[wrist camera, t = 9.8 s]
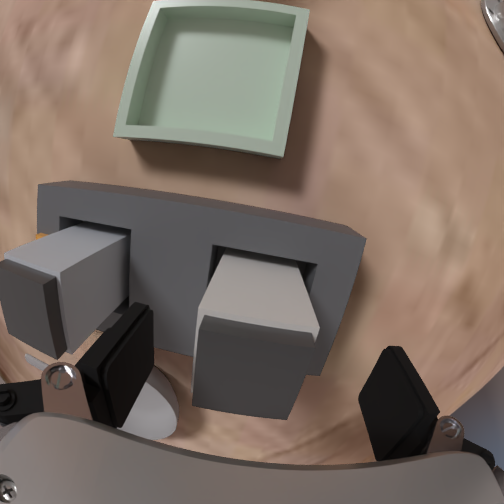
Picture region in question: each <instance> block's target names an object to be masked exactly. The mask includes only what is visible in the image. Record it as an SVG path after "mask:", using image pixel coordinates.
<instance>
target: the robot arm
mask: <svg viewBox="0 0 504 504" xmlns="http://www.w3.org/2000/svg"><path fill="white" fill-rule="evenodd" d="M481 7H482V11H483V14H484V17H485V20H486V22H487V24H488V26H489V28H490V30H491V32H492V34H493V35H494V37H495V39H496V41H497V42H498V44H499V46H500V47H501V49H502V50H503V52H504V1H503V0H481ZM153 366H154V312H153V310H151V309H150V307H149V305H146V304H142V303H139V302H134V303H133V304H132V305H131V306H130V307H129V308H128V310H127V311H126V312H125V313H124V314H123V315H122V316H121V317H120V318H119V319H118V321H117V322H116V323H115V324H114V325H113V326H112V327H110V328H108V329H106V330H105V332H104V333H103V334H102V335H101V336H100V337H99V338H98V339H97V340H96V342H95V343H94V344H93V345H92V346H91V347H90V348H89V350H88V351H87V352H86V353H85V354H84V355H83V357H82V358H81V359H80V360H79V361H78V362H77V364H76V365H75V366H74V365H72V364H70V363H66V362H57V363H53V364H51V365H49V366H47V367H46V368H45V369H44V370H43V372H42V375H41V379H40V380H33V381H25V382H17V383H8V384H0V504H504V471H503V470H502V469H501V468H500V467H499V466H496V467H494V466H495V460H494V457H493V454H492V453H491V452H490V451H488V450H486V449H484V448H482V447H480V446H478V445H476V444H474V443H472V442H470V441H468V440H466V439H464V428H463V426H462V424H461V423H460V422H459V421H458V420H457V419H455V418H454V417H451V416H442V417H440V418H439V419H438V418H437V415H438V414H439V413H440V411H439V409H438V407H437V405H436V403H435V402H434V400H433V398H432V396H431V395H430V393H429V391H428V389H427V388H426V386H425V384H424V383H423V381H422V379H421V377H420V376H419V374H418V372H417V371H416V369H415V367H414V366H413V364H412V363H411V361H410V359H409V358H408V356H407V355H406V353H405V351H404V350H403V348H402V347H400V346H388V347H387V348H386V349H384V350H383V351H382V353H381V355H380V357H379V359H378V361H377V363H376V365H375V367H374V368H373V370H372V372H371V374H370V376H369V378H368V380H367V381H366V383H365V385H364V387H363V388H362V390H361V392H360V394H359V398H358V401H359V404H360V408H361V411H362V414H363V417H364V421H365V424H366V427H367V431H368V434H369V438H370V441H371V445H372V448H373V452H374V455H375V459H376V460H377V462H368V463H356V464H339V465H294V464H276V463H264V462H255V461H247V460H239V459H232V458H226V457H220V456H215V455H209V454H204V453H200V452H195V451H191V450H186V449H182V448H178V447H175V446H171V445H167V444H164V443H160V442H156V441H153V440H150V439H146V438H143V437H140V436H137V435H134V434H131V433H128V432H125V431H123V430H119V429H117V427H118V428H122V427H123V425H124V423H125V421H126V419H127V417H128V415H129V413H130V411H131V409H132V407H133V405H134V403H135V401H136V400H137V398H138V396H139V394H140V392H141V390H142V388H143V386H144V384H145V382H146V380H147V379H148V377H149V375H150V373H151V371H152V369H153Z"/></svg>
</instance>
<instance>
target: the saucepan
mask: <svg viewBox="0 0 504 504" xmlns="http://www.w3.org/2000/svg"><path fill="white" fill-rule="evenodd" d="M25 358H26V361H27V362H28V363H29V364H31V365H33V366H35V367H36V368H38V369H40V370H42V371H43V370H44V369H45V368H46V367H47V366H49V365H48V364H46V363H44V362H42V361H40V360H39V359H37V358H35V357H33V356H31V355H30V354H25ZM178 418H179V405H178V401H177V397H176V394H175V392H174V390H173V388H172V386H171V384H170V382H169V381H168V379H167V378H166V377H165V376H164V374H163V373H162V372H161V371H160V370H158V369H157V368H156V367H155V366H153V369H152V371H151V373H150V375H149V377H148V379H147V380H146V382H145V384H144V386H143V388H142V390H141V392H140V394H139V396H138V398H137V400H136V401H135V403H134V405H133V407H132V409H131V411H130V413H129V415H128V417H127V419H126V421H125V423H124V425H123V427H122V428H118V427H117V429H119V430H123V431H125V432H128V433H131V434H134V435H137V436H140V437H143V438H146V439H150V440H158V439H163V438H166V437H168V436H170V435H171V434H173V432H174V431H175V430H176V426H177V421H178Z"/></svg>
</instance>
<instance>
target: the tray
mask: <svg viewBox="0 0 504 504" xmlns="http://www.w3.org/2000/svg"><path fill="white" fill-rule="evenodd" d="M309 11H310V10H309V9H304V8H299V7H294V6H289V5H283V4H276V3H269V2H261V1H252V0H161V1H153V3H152V6H151V8H150V10H149V13H148V15H147V18H146V20H145V23H144V25H143V28H142V31H141V34H140V36H139V39H138V42H137V45H136V48H135V51H134V54H133V57H132V60H131V64H130V67H129V70H128V74H127V77H126V81H125V85H124V89H123V93H122V97H121V101H120V105H119V110H118V114H117V119H116V124H115V129H114V135H113V137H118V138H123V139H128V140H140V141H154V142H166V143H176V144H186V145H195V146H203V147H210V148H218V149H225V150H231V151H238V152H244V153H250V154H255V155H261V156H266V157H272V158H277V159H281V158H283V157H284V151H285V146H286V141H287V135H288V130H289V125H290V119H291V114H292V108H293V103H294V97H295V92H296V86H297V81H298V75H299V70H300V64H301V58H302V53H303V47H304V41H305V35H306V29H307V23H308V17H309Z"/></svg>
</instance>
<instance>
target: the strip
mask: <svg viewBox="0 0 504 504" xmlns="http://www.w3.org/2000/svg"><path fill="white" fill-rule="evenodd" d="M86 221H89V222H94V223H100V224H105V225H111V226H116V227H121V228H127V229H131V245H130V272H129V296H128V297H127V298H126V299H125V300H124V301H123V302H122V303H121V304H120V305H119V306H118V307H117V308H116V309H115V310H114V311H113V312H112V313H111V314H110V315H109V316H108V317H107V318H106V319H105V320H104V321H103V322H102V323H101V324H100V325H99V326H98V327H97V328H96V329H97V330H100V331H103V332H105V330H106V329H108V328H110V327H112V326H113V325H114V324H115V323H116V322H117V321H118V319H119V318H120V317H121V316H122V315H123V314H124V313H125V312H126V311H127V310H128V308H129V307H130V306H131V305H132V304H133V303H134V302H139V303H142V304H146V305H149V307H150V309H151V310H153V312H154V347H155V348H159V349H163V350H167V351H171V352H175V353H179V354H183V355H188V356H192V357H193V356H194V345H195V334H196V324H197V315H198V307H199V305H200V303H201V301H202V298H203V296H204V294H205V292H206V290H207V288H208V286H209V283H210V281H211V279H212V277H213V275H214V273H215V271H216V269H217V266H218V264H219V262H220V260H221V258H222V256H223V254H224V252H225V250H226V248H227V247H229V248H235V249H240V250H246V251H251V252H256V253H262V254H267V255H273V256H278V257H283V258H289V259H294V260H296V263H297V266H298V268H299V271H300V274H301V277H302V279H303V282H304V285H305V287H306V290H307V293H308V296H309V298H310V301H311V304H312V307H313V310H314V313H315V315H316V318H317V321H318V324H319V327H320V329H319V332H318V335H317V338H316V341H315V346H316V350H315V352H314V355H313V358H312V360H311V363H310V366H309V368H308V371H307V373H306V375H315V376H320V374H321V371H322V369H323V367H324V364H325V362H326V359H327V357H328V354H329V352H330V349H331V347H332V344H333V342H334V339H335V336H336V334H337V331H338V328H339V326H340V323H341V320H342V317H343V314H344V311H345V309H346V306H347V303H348V300H349V297H350V294H351V290H352V287H353V284H354V281H355V278H356V274H357V271H358V268H359V264H360V261H361V257H362V254H363V250H364V247H365V243H366V238H365V237H363V236H362V235H360V234H359V233H357V232H356V231H354V230H353V229H351V228H350V227H348V226H346V225H341V224H337V223H332V222H328V221H323V220H319V219H314V218H309V217H305V216H300V215H295V214H290V213H285V212H280V211H275V210H270V209H264V208H259V207H254V206H248V205H243V204H237V203H232V202H226V201H220V200H214V199H208V198H202V197H196V196H189V195H183V194H176V193H169V192H162V191H155V190H148V189H140V188H133V187H125V186H116V185H108V184H99V183H90V182H80V181H61V182H53V183H45V184H38V198H37V234H36V240H37V239H39V238H42V237H45V236H47V235H50V234H53V233H55V232H58V231H61V230H63V229H66V228H69V227H72V226H75V225H78V224H80V223H83V222H86Z"/></svg>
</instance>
